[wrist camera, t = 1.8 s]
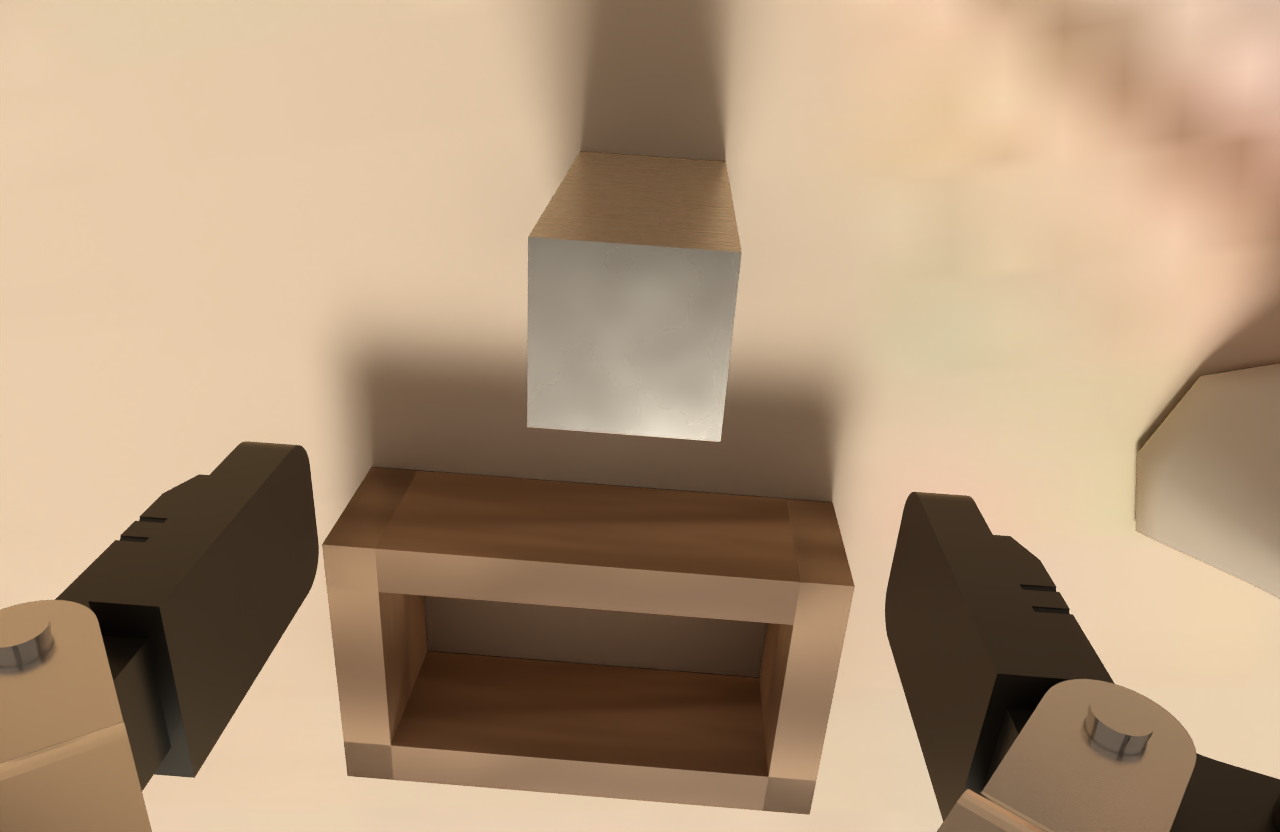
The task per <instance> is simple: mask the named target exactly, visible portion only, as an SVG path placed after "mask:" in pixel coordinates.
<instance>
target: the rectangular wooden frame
mask: <svg viewBox="0 0 1280 832" xmlns="http://www.w3.org/2000/svg"><path fill="white" fill-rule="evenodd" d="M322 547H323V556H324V565H325V574H326V584H327V593H328V602H329V611H330V620H331V629H332V638H333V647H334V656H335V665H336V674H337V683H338V692H339V701H340V710H341V720H342V729H343V738H344V747H345V756H346V765H347V774H348V776H355V777H367V778H379V779H391V780H403V781H415V782H427V783H439V784H451V785H463V786H475V787H487V788H499V789H511V790H523V791H535V792H546V793H558V794H570V795H582V796H594V797H606V798H618V799H630V800H642V801H654V802H666V803H678V804H690V805H702V806H714V807H726V808H738V809H750V810H762V811H774V812H786V813H798V814H810V809H811V804H812V799H813V794H814V789H815V784H816V779H817V774H818V769H819V764H820V759H821V754H822V749H823V743H824V738H825V733H826V728H827V723H828V718H829V713H830V708H831V703H832V698H833V693H834V688H835V683H836V678H837V673H838V667H839V662H840V657H841V652H842V647H843V642H844V637H845V632H846V627H847V622H848V617H849V612H850V607H851V602H852V596H853V591H854V583H853V579H852V575H851V571H850V567H849V564H848V560H847V556H846V552H845V548H844V545H843V541H842V537H841V533H840V529H839V525H838V522H837V518H836V514H835V510H834V506H833V503H832V502H820V501H807V500H794V499H781V498H768V497H755V496H742V495H729V494H716V493H703V492H690V491H677V490H664V489H651V488H638V487H625V486H612V485H599V484H586V483H573V482H560V481H547V480H534V479H521V478H508V477H495V476H482V475H469V474H456V473H443V472H430V471H417V470H404V469H391V468H378V467H372V468H371V469H370V471H369V472H368V474H367V475H366V477H365V479H364V480H363V482H362V483H361V485H360V486H359V488H358V489H357V491H356V493H355V494H354V496H353V497H352V499H351V500H350V502H349V503H348V505H347V507H346V508H345V510H344V511H343V513H342V514H341V516H340V518H339V519H338V521H337V522H336V524H335V525H334V527H333V528H332V530H331V532H330V533H329V535H328V536H327V538H326V539H325V541H324V543H323V544H322ZM424 596H435V597H448V598H460V599H473V600H486V601H498V602H511V603H523V604H536V605H548V606H561V607H574V608H586V609H599V610H611V611H624V612H636V613H649V614H661V615H674V616H687V617H699V618H712V619H724V620H737V621H749V622H762V623H767V629H766V636H765V642H764V649H763V656H762V662H761V669H760V676H759V678H752V677H740V676H727V675H715V674H703V673H690V672H678V671H665V670H653V669H641V668H628V667H616V666H604V665H591V664H579V663H566V662H554V661H542V660H529V659H517V658H505V657H492V656H480V655H467V654H455V653H443V652H430V651H427V638H426V619H425V601H424Z"/></svg>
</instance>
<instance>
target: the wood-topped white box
mask: <svg viewBox="0 0 1280 832" xmlns="http://www.w3.org/2000/svg"><path fill="white" fill-rule="evenodd" d="M740 261H741V247H740V241H739V235H738V230H737V224H736V218H735V212H734V207H733V201H732V195H731V190H730V184H729V178H728V172H727V167H726V162H724V161H710V160H696V159H681V158H667V157H653V156H639V155H624V154H610V153H596V152H581V151H580V153H579V155H578V156H577V158H576V159H575V161H574V163H573V164H572V166H571V168H570V169H569V171H568V173H567V174H566V176H565V178H564V179H563V181H562V182H561V184H560V186H559V187H558V189H557V191H556V192H555V194H554V196H553V197H552V199H551V201H550V202H549V204H548V205H547V207H546V209H545V210H544V212H543V214H542V215H541V217H540V219H539V220H538V222H537V224H536V225H535V227H534V228H533V230H532V232H531V233H530V235H529V237H528V371H527V427H532V428H545V429H558V430H571V431H585V432H598V433H611V434H624V435H637V436H650V437H664V438H677V439H690V440H703V441H716V442H721V434H722V425H723V416H724V406H725V397H726V388H727V379H728V370H729V361H730V352H731V343H732V334H733V325H734V315H735V306H736V297H737V288H738V279H739V270H740Z"/></svg>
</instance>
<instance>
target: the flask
mask: <svg viewBox="0 0 1280 832" xmlns="http://www.w3.org/2000/svg"><path fill="white" fill-rule="evenodd" d="M1136 531H1137V532H1139V533H1141V534H1143V535H1145V536H1147V537H1149V538H1151V539H1153V540H1155V541H1157V542H1159V543H1162V544H1164V545H1166V546H1168V547H1170V548H1173V549H1175V550H1177V551H1179V552H1181V553H1183V554H1186V555H1188V556H1190V557H1192V558H1194V559H1196V560H1199V561H1201V562H1203V563H1205V564H1207V565H1209V566H1212V567H1214V568H1216V569H1218V570H1220V571H1222V572H1225V573H1227V574H1229V575H1231V576H1233V577H1236V578H1238V579H1240V580H1242V581H1245V582H1247V583H1249V584H1251V585H1253V586H1255V587H1257V588H1259V589H1261V590H1263V591H1265V592H1267V593H1269V594H1271V595H1273V596H1275V597H1277V598H1279V599H1280V363H1279V364H1272V365H1266V366H1260V367H1254V368H1247V369H1241V370H1235V371H1229V372H1222V373H1216V374H1210V375H1204V376H1200V377H1199V378H1198V380H1197V381H1196V382H1195V383H1194V385H1193V386H1192V387H1191V388H1190V389H1189V391H1188V392H1187V393H1186V394H1185V396H1184V397H1183V398H1182V399H1181V400H1180V402H1179V403H1178V404H1177V405H1176V407H1175V408H1174V409H1173V410H1172V411H1171V413H1170V414H1169V415H1168V416H1167V418H1166V419H1165V420H1164V421H1163V422H1162V424H1161V425H1160V426H1159V427H1158V429H1157V430H1156V431H1155V432H1154V433H1153V435H1152V436H1151V437H1150V438H1149V440H1148V441H1147V442H1146V443H1145V444H1144V446H1143V447H1142V448H1141V449H1140V450H1139V452H1138V453H1137V492H1136Z"/></svg>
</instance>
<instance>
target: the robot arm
mask: <svg viewBox="0 0 1280 832" xmlns="http://www.w3.org/2000/svg"><path fill="white" fill-rule="evenodd" d="M318 554H319V546H318V536H317V527H316V517H315V508H314V499H313V490H312V481H311V472H310V464H309V458H308V455H307V452H306V451H305V449H304V448H303V447H302V446H300V445H287V444H274V443H260V442H242V443H240V444H239V445H238V446H237V447H236V448H235V449H234V450H233V451H232V452H231V453H230V454H229V455H228V456H227V457H226V458H225V459H224V460H223V462H222V463H221V464H220V465H219V466H218V467H217V468H216V469H215V470H214V471H213V472H212V473H211V474H210V475H197V476H195V477H194V478H192V479H190V480H188V481H186V482H184V483H182V484H180V485H178V486H176V487H174V488H173V489H171V490H169V491H167V492H165V493H163V494H162V495H161V496H160V497H159V498H158V499H157V500H156V501H155V502H154V503H153V504H152V505H151V506H150V507H149V508H148V509H147V510H146V511H145V512H144V513H143V514H142V515H141V516H140V520H139V521H135V522H134V523H133V524H132V525H131V526H130V527H129V528H128V529H127V530H125V531H124V532H123V533H122V534H121V538H120V541H118V540H115V541H114V542H113V543H112V544H111V545H110V546H109V547H108V548H107V549H106V550H105V551H104V552H103V553H102V554H101V555H100V556H99V557H98V558H97V559H96V560H95V561H94V562H93V563H92V564H91V565H90V566H89V567H88V568H87V569H86V570H85V571H84V572H83V573H82V574H81V575H80V576H79V577H78V578H77V579H76V580H75V581H74V582H73V583H72V584H71V585H70V586H69V587H68V588H67V589H66V590H64V591H63V592H62V593H61V594H60V595H59V596H58V597H57V598H56V599H55V600H41V601H34V602H27V603H22V604H18V605H14V606H10V607H7V608H4V609H1V610H0V832H152V830H151V826H150V822H149V818H148V814H147V810H146V806H145V802H144V798H143V794H142V791H143V789H144V788H145V786H146V785H147V783H148V782H149V780H150V779H151V777H152V776H153V774H156V775H169V776H181V777H194V778H195V776H196V774H197V773H198V771H199V770H200V768H201V766H202V765H203V763H204V761H205V760H206V758H207V757H208V755H209V753H210V752H211V750H212V749H213V747H214V745H215V744H216V742H217V740H218V739H219V737H220V736H221V734H222V732H223V731H224V729H225V727H226V726H227V724H228V723H229V721H230V719H231V718H232V716H233V714H234V713H235V711H236V710H237V708H238V706H239V705H240V703H241V701H242V700H243V698H244V697H245V695H246V693H247V692H248V690H249V689H250V687H251V685H252V684H253V682H254V680H255V679H256V677H257V676H258V674H259V672H260V671H261V669H262V667H263V666H264V664H265V663H266V661H267V659H268V658H269V656H270V654H271V653H272V651H273V650H274V648H275V646H276V645H277V643H278V641H279V640H280V638H281V637H282V635H283V633H284V632H285V630H286V629H287V627H288V625H289V624H290V622H291V620H292V619H293V617H294V616H295V614H296V612H297V611H298V609H299V607H300V606H301V604H302V603H303V601H304V599H305V598H306V596H307V594H308V593H309V591H310V589H311V587H312V584H313V581H314V578H315V575H316V570H317V564H318ZM885 621H886V631H887V636H888V640H889V643H890V646H891V650H892V653H893V656H894V660H895V663H896V666H897V669H898V673H899V676H900V679H901V683H902V686H903V689H904V693H905V696H906V699H907V703H908V706H909V709H910V713H911V716H912V719H913V722H914V726H915V729H916V732H917V736H918V739H919V742H920V746H921V749H922V752H923V756H924V759H925V762H926V766H927V769H928V772H929V775H930V779H931V782H932V785H933V789H934V792H935V795H936V799H937V802H938V805H939V809H940V812H941V815H942V819H943V823H942V825H941V826H940V828H939V829H938V831H937V832H1280V779H1276V778H1273V777H1269V776H1266V775H1263V774H1259V773H1256V772H1253V771H1249V770H1246V769H1243V768H1239V767H1236V766H1233V765H1229V764H1226V763H1223V762H1219V761H1216V760H1213V759H1210V758H1207V757H1205V756H1202V755H1199V754H1197V753H1196V749H1195V746H1194V743H1193V741H1192V739H1191V737H1190V735H1189V734H1188V732H1187V730H1186V729H1185V728H1184V727H1183V726H1182V725H1181V723H1180V722H1179V721H1178V720H1177V719H1176V718H1175V717H1174V716H1173V715H1171V714H1170V713H1169V712H1168V711H1167V710H1165V709H1164V708H1163V707H1161V706H1160V705H1159V704H1157V703H1155V702H1154V701H1152V700H1150V699H1149V698H1147V697H1145V696H1143V695H1141V694H1139V693H1137V692H1135V691H1133V690H1130V689H1128V688H1125V687H1123V686H1119V685H1116V684H1114V682H1113V680H1112V679H1111V677H1110V675H1109V674H1108V672H1107V670H1106V669H1105V667H1104V665H1103V664H1102V662H1101V660H1100V659H1099V657H1098V655H1097V654H1096V652H1095V650H1094V649H1093V647H1092V645H1091V644H1090V642H1089V640H1088V639H1087V637H1086V636H1085V634H1084V632H1083V631H1082V629H1081V627H1080V626H1079V624H1078V622H1077V621H1076V619H1075V617H1074V616H1073V615H1071V614H1069V607H1068V606H1067V604H1066V602H1065V601H1064V599H1063V597H1062V596H1061V594H1060V592H1056V586H1055V584H1054V582H1053V581H1052V579H1051V577H1050V576H1049V574H1048V572H1047V571H1046V569H1045V567H1044V566H1043V564H1042V563H1041V561H1040V560H1039V559H1038V558H1037V557H1035V556H1034V555H1033V554H1032V553H1030V552H1029V551H1028V550H1027V549H1025V548H1024V547H1023V546H1022V545H1020V544H1019V543H1018V542H1017V541H1015V540H1014V539H1013V538H1012V537H1011V536H1000V535H992V533H991V531H990V529H989V527H988V525H987V524H986V522H985V520H984V518H983V516H982V514H981V513H980V511H979V509H978V507H977V505H976V503H975V502H974V500H973V499H972V498H971V497H970V496H963V495H949V494H935V493H922V492H912V493H911V494H910V495H909V496H908V498H907V500H906V503H905V507H904V511H903V515H902V520H901V525H900V530H899V534H898V539H897V544H896V549H895V553H894V558H893V563H892V567H891V572H890V577H889V582H888V587H887V592H886V602H885Z"/></svg>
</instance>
